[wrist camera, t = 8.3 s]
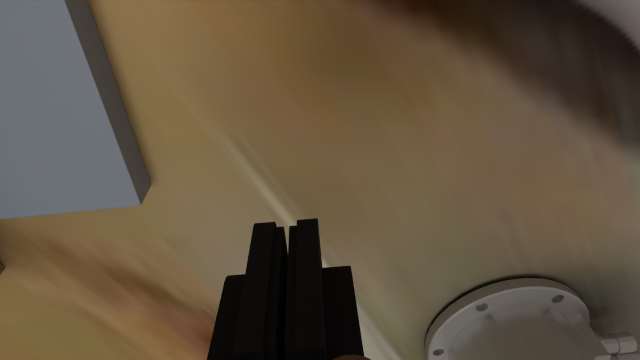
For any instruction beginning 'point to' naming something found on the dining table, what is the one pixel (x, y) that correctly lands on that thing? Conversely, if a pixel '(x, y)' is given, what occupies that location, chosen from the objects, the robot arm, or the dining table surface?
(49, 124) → the slate tile
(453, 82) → the dining table surface
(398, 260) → the dining table surface
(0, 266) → the walnut shelf
